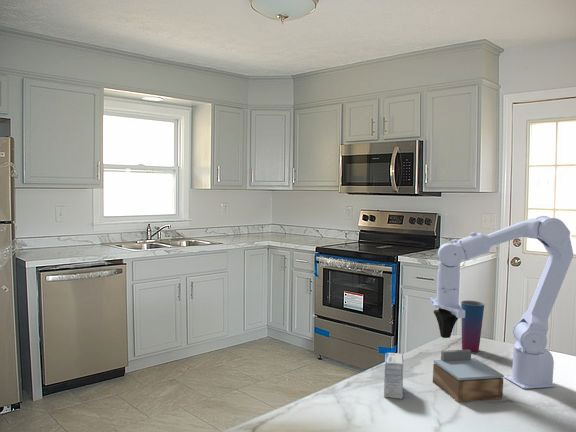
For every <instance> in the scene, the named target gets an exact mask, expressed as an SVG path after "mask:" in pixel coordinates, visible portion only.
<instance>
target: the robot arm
mask: <svg viewBox="0 0 576 432" xmlns="http://www.w3.org/2000/svg"><path fill="white" fill-rule="evenodd" d="M469 234H470V235H469V236H465V237H463V238H460V239H458V240H457V239H456V238H455V239H452V242H446V243H443V244H441V245H440V247H439V248H438V251H437V252H436V254H437V258H438V259H439V261H438V263H437V264H438V265H437V268H438V269H437V274H436V275H437V279H436V297H430V301H429V302H430V304H429V305H431V306H432V307H434V308H438V309H434V310H433V314H434V316H435V319H436V321H437V323H438V329H439V333H440V337H441V338H442V339H449V338H451V336H452V333H453V330H454V327H455V325H456V323H457V321H458V319H461V318H465V310H463V309H462V308H461V305H460V304H459V299H460V298H459V295H460V279H461V276H460V275H461V272H460V264H461V262H462V261H467V260H470V259H473V258H477V257H480V256H483V255H485V254H488V253H489V252H490V250H491V247H494V246H496V245H500V244H504V243H506V242H510V241H513V240H516V239H520V238H529V239H535V240H538V241H539V242H540V243H542V244H543V247H544V248H545V250H546V252H547V254H548V257H547V260H546V263H545V265H544V268H543V270H542V273H541V275H540V277H539V280H538V283H537V286H536V288H535V290H534V293H533V295H532V298H531V301H530V303H529V305H528V309H527V310H526V311H525V312H524V313H523V314H522V316H521V318H520V320H519V321H518V322H516V323H515V324H514V326H513V329H512V333H513V337H514V338H515V339H516V341H515V343H514V344H513V352H512V367H511V368H512V371H511V374H509V375H508V374H507V375H504V378H505V379H506V380H508V381H509V382H511V383H513V384H515V385H516V386H518V387H519V388H522V389H524V390H526V389H527V390H528V389H541V388H554V387H556V385H555V384H554V383H553V382H554V369H555V366H554V365H555V361H554V357H553V355H552V353H551V352H550V350H548V349H546V347H547V344H548V340H547V339H548V338H547V334H548V331H549V317H550V315H551V313H552V310H553V307H554V305H555V302H556V301H557V300H556V299H557V298H558V296H559V293H560V290H561V287H562V286H563V282H564V280H565V279H566V275H567V273H568V271H569V268H570V266H571V265H570V264H571V263H572V260H573V258H574V251H573V250H574V249H573V246H572V242H571V237H570V236H571V231H570V229H569V228H568V227H567V225H566V224H565V222H564V221H562V220H561V219H560V218H556V217H550V216H547V215H540V216H537V217H536V218H528V219H526V220H522V221H519V222H517V223H514V224H511V225H509V226H506V227H504V228H501V229H499V230H496V231H493V232H491V233H489V234H485V233H482V232H475V231H473V232H470V233H469Z"/></svg>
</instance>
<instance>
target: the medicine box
mask: <svg viewBox="0 0 576 432" xmlns="http://www.w3.org/2000/svg"><path fill="white" fill-rule="evenodd" d="M384 359H385V360H384V377H383V378H384V379H383V383H384V384H383V397H384V398H388V397H390V399H398V398H401V399H403V386H404V356H403V353H400V352H399V353H398V352H385V356H384ZM401 399H400V400H401Z"/></svg>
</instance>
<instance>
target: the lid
mask: <svg viewBox="0 0 576 432" xmlns="http://www.w3.org/2000/svg"><path fill="white" fill-rule="evenodd" d="M440 351H441V352H440V359H434V360H433V364H437V365H438V366H439V367H441V368H442V369H444V370H445V371H446V372H448V373H449V374H451V375H452V376H453V377H455V378H456V379H458V380H459V381H460V380H475V379H490V378H503V379H504V378H505V377H504V376H505V375H504V374H502V373H501V372H500V371H498V370H496V369H494V368H493V367H491V366H490V365H488V364H486V363H485V362H482V361H481V360H480V359H477V358H476V357H472V352H471V350H469V349H468V350H462V349H451V350H440Z"/></svg>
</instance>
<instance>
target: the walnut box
mask: <svg viewBox="0 0 576 432" xmlns="http://www.w3.org/2000/svg"><path fill="white" fill-rule="evenodd" d="M432 365H433V370H432V383H433V384H434V383H435V384H436V385H435V384H434V385H435V386H436V387H438V388H439V389H441V390H442V391H443V390H444V391H445V392H444V391H443V392H444V393H445V394H447V395H448V396H449V395H450V396H449V397H451V398H452V399H453V400H454V399H455V400H454V401H455V402H457V403H466V401H467V402H477V401H478V402H480V401H481V402H482V401H493V400H503V394H504V378H490V379H475V380H460V381H459V380H458V379H456V378H455V377H453V376H452V375H451V374H449V373H448V372H446V371H445V370H444V369H442V368H441V367H439V366H438V365H437V364H435V363H433V364H432Z"/></svg>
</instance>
